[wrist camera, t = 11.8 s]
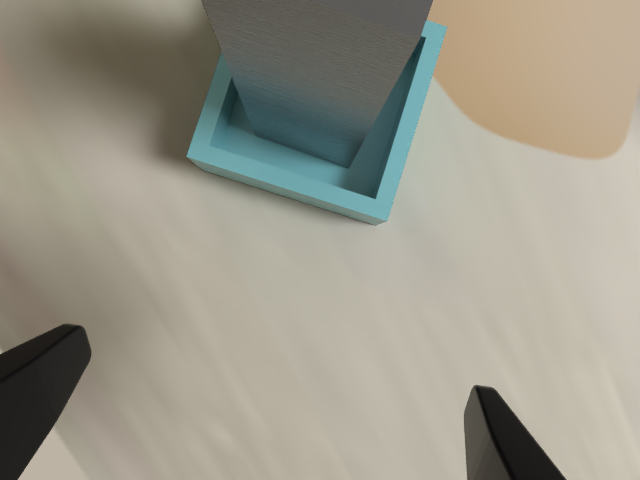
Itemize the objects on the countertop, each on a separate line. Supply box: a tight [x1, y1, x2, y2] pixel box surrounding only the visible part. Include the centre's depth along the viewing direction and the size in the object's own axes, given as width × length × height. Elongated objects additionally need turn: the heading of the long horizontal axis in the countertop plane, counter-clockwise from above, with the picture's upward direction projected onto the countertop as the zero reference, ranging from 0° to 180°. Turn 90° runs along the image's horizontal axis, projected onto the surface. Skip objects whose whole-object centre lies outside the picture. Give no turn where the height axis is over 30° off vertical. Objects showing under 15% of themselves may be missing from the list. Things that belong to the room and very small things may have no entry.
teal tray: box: [186, 20, 447, 225], centre depth 21 cm, size 10×10×3 cm
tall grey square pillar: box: [201, 0, 433, 169], centre depth 15 cm, size 5×5×13 cm
